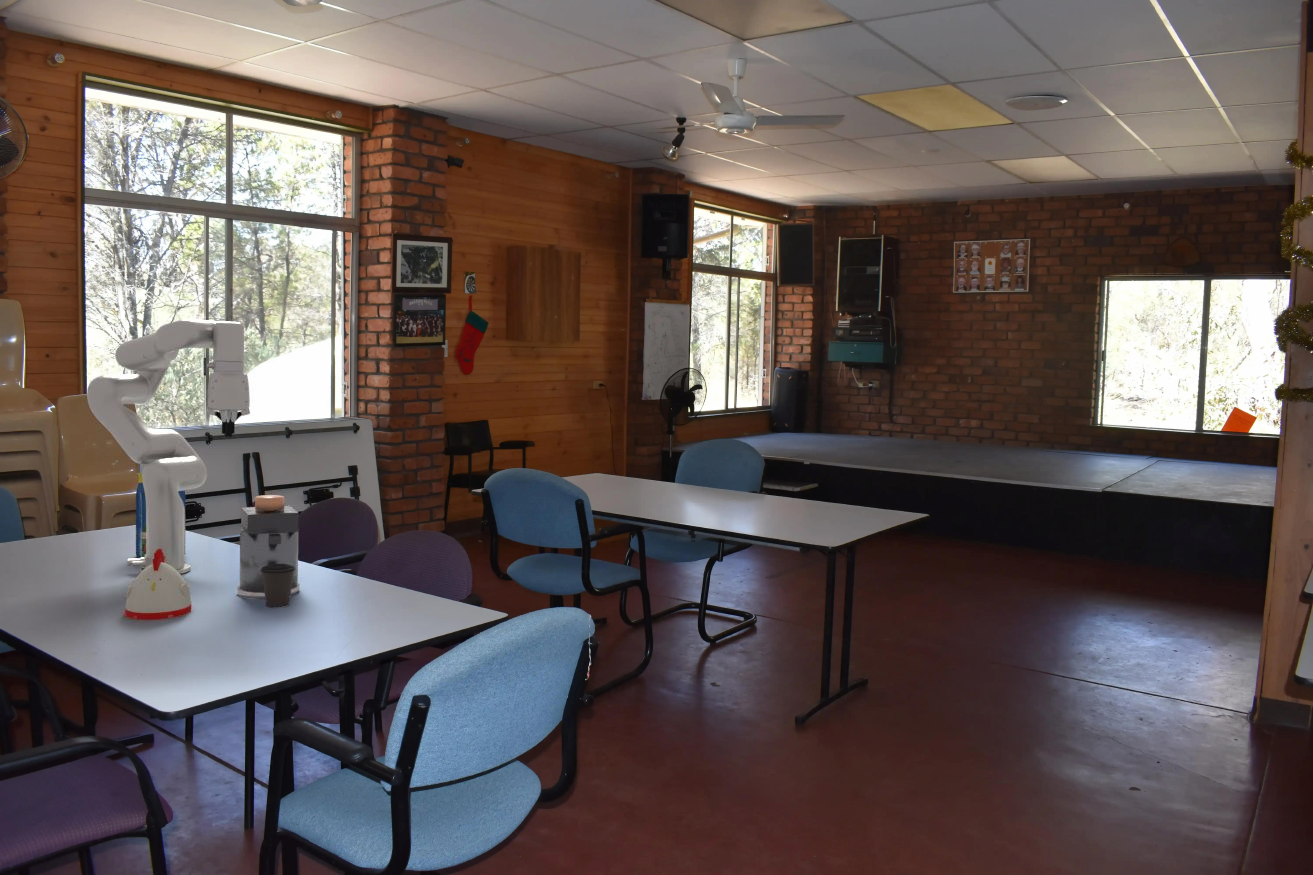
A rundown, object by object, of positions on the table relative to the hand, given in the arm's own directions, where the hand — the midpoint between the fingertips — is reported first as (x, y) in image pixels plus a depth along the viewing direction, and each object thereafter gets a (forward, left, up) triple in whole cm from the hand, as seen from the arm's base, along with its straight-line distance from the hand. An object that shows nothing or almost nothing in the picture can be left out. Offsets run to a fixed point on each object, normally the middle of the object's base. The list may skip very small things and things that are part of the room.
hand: (228, 436), depth 257 cm
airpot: (+8, -20, -39) cm, 44 cm away
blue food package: (-14, +39, -39) cm, 57 cm away
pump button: (+8, -18, -22) cm, 29 cm away
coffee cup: (+8, -32, -39) cm, 51 cm away
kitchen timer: (-18, -29, -39) cm, 52 cm away
